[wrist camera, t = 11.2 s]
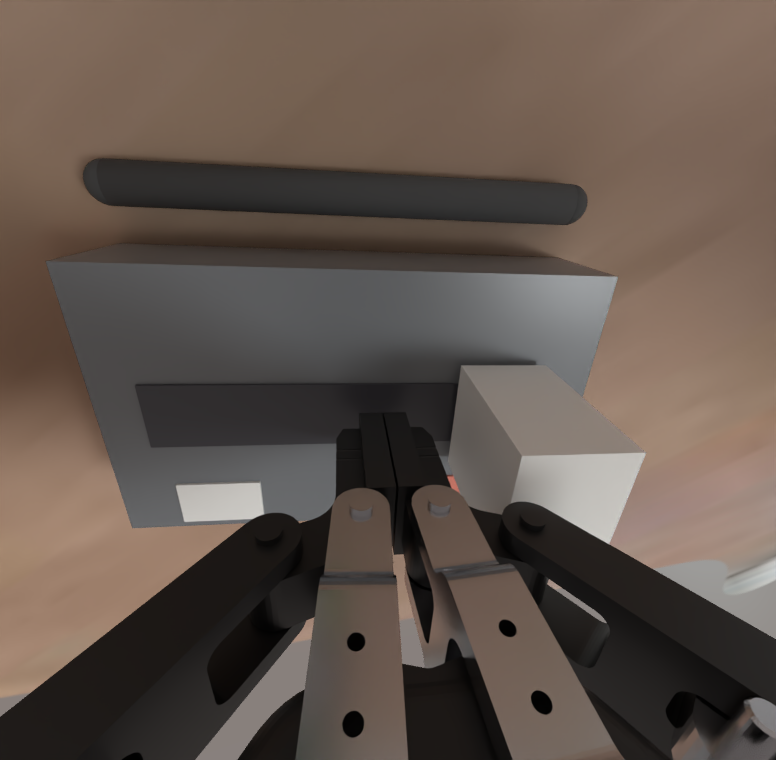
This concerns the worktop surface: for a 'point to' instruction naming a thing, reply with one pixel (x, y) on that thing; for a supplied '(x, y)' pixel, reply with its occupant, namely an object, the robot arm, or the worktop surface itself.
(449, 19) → the worktop surface
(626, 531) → the worktop surface
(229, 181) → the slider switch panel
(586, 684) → the robot arm
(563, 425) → the handle
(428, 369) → the breaker panel
